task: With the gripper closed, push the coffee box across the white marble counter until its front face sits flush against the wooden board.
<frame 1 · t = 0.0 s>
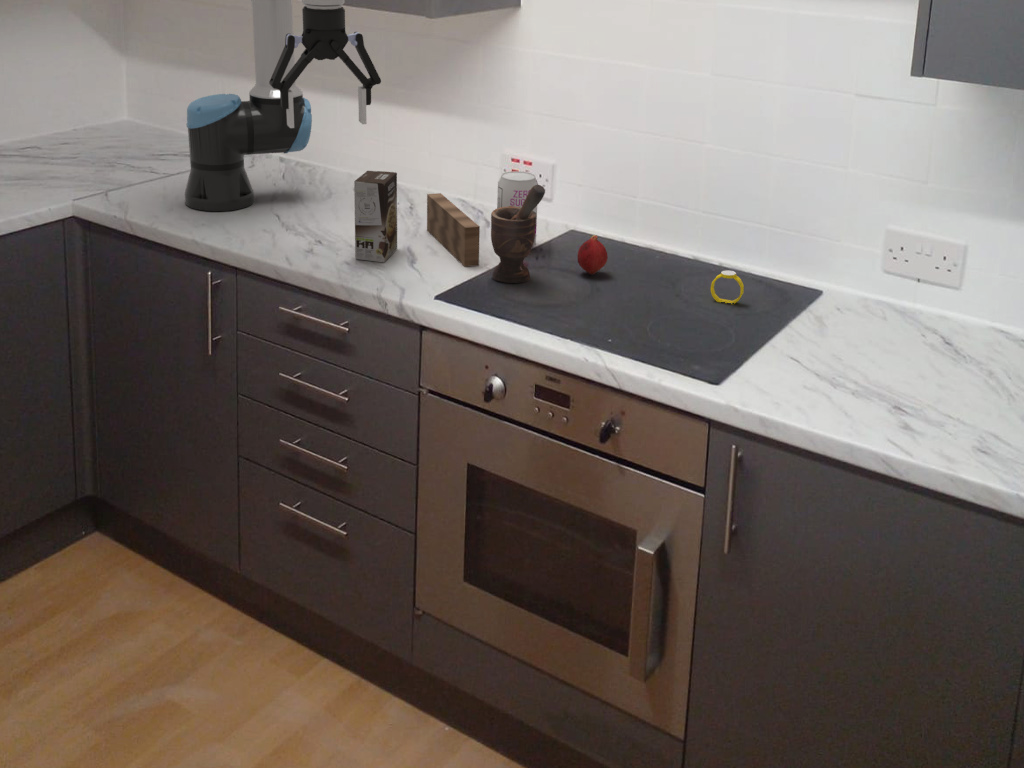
hand: (327, 124, 227), 28 cm above the worktop, tool pointing down, fingers open, 13 cm apart
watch: (725, 303, 229), on the worktop
coffee box: (376, 255, 247), on the worktop
mortar and pestle: (518, 280, 236), on the worktop
wooden board: (451, 247, 252), on the worktop
onion: (591, 275, 240), on the worktop
supplement can: (515, 247, 254), on the worktop
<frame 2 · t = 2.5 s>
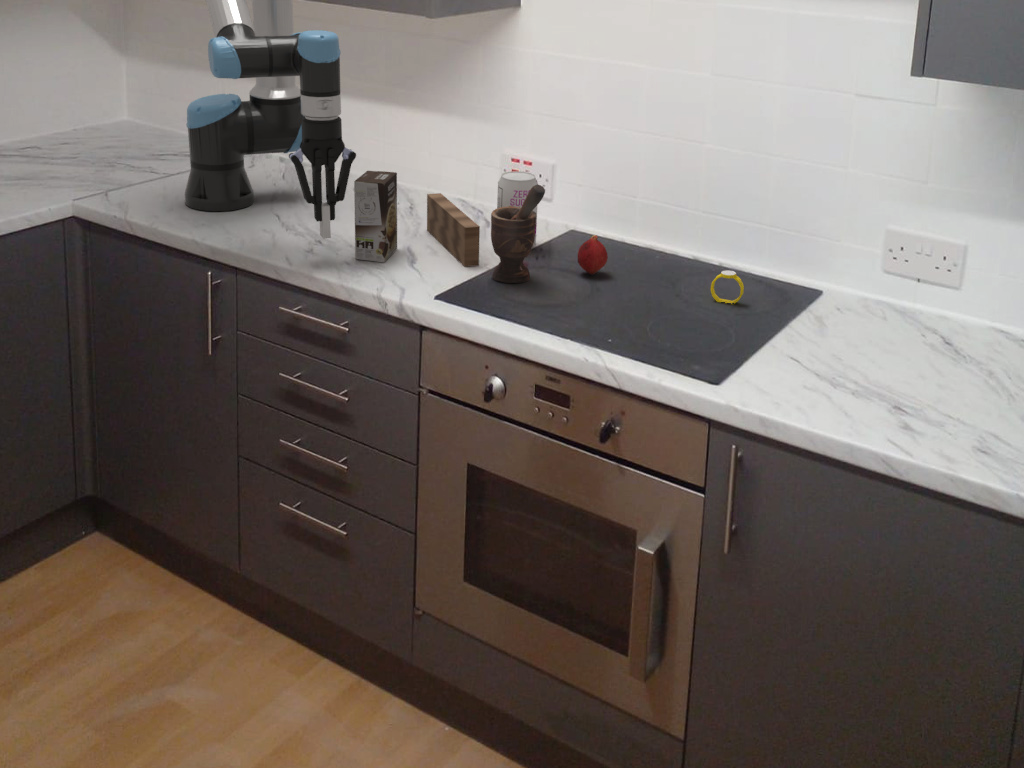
hand: (325, 236, 241), 5 cm above the worktop, tool pointing down, fingers closed
nothing on the worktop moved.
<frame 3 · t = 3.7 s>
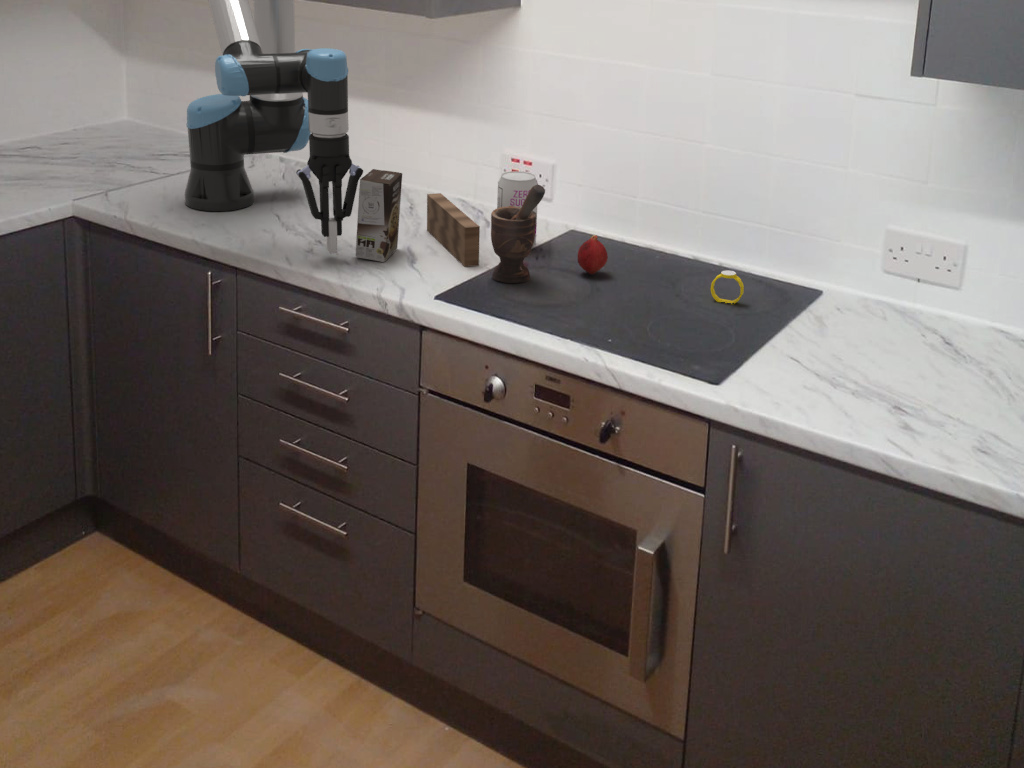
hand: (332, 251, 243), 1 cm above the worktop, tool pointing down, fingers closed
coffee box: (376, 254, 247), on the worktop, touching hand
everything else where it was.
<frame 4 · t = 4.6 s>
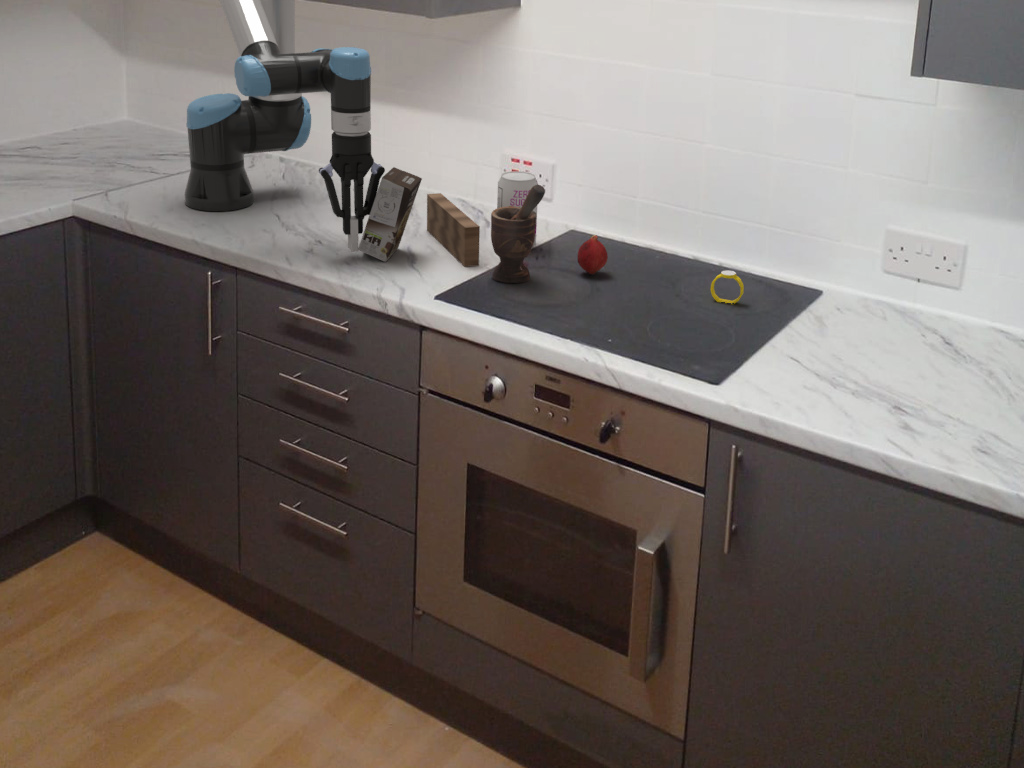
hand: (353, 249, 244), 2 cm above the worktop, tool pointing down, fingers closed
coffee box: (378, 250, 246), point 1 cm above the worktop, touching gripper, hand
everything else where it was.
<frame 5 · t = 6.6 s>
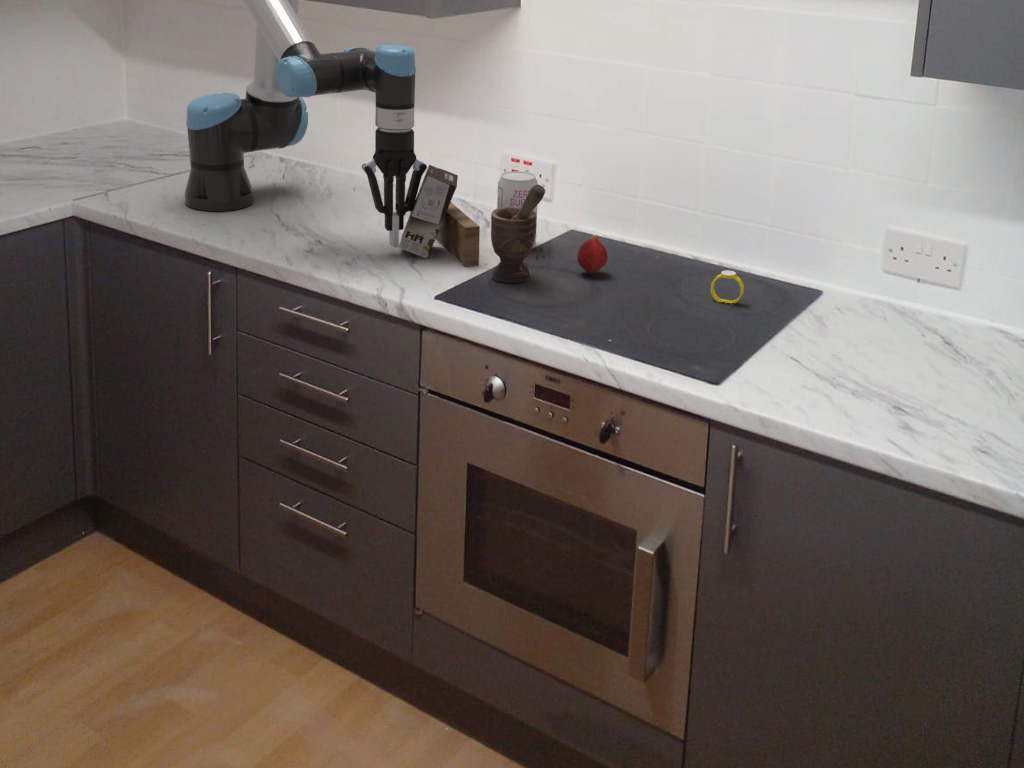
hand: (394, 245, 246), 2 cm above the worktop, tool pointing down, fingers closed
coffee box: (414, 247, 248), point 1 cm above the worktop, touching hand, wooden board
everything else where it was.
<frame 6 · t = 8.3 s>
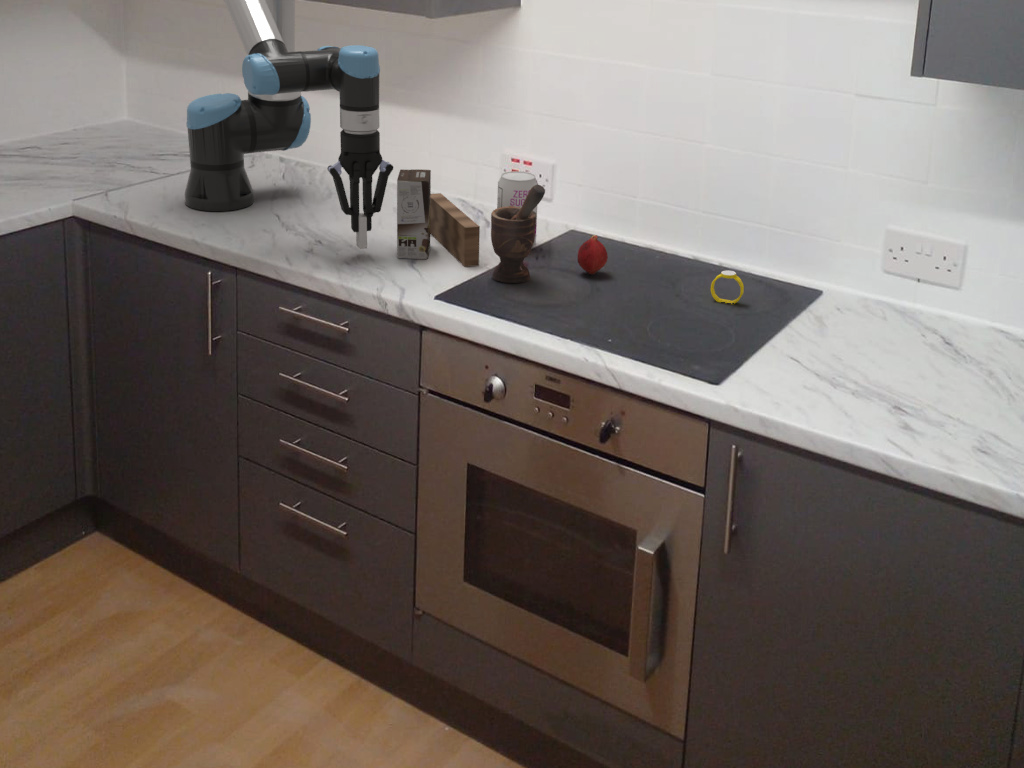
hand: (361, 246, 245), 2 cm above the worktop, tool pointing down, fingers closed
coffee box: (414, 252, 249), on the worktop
everything else where it was.
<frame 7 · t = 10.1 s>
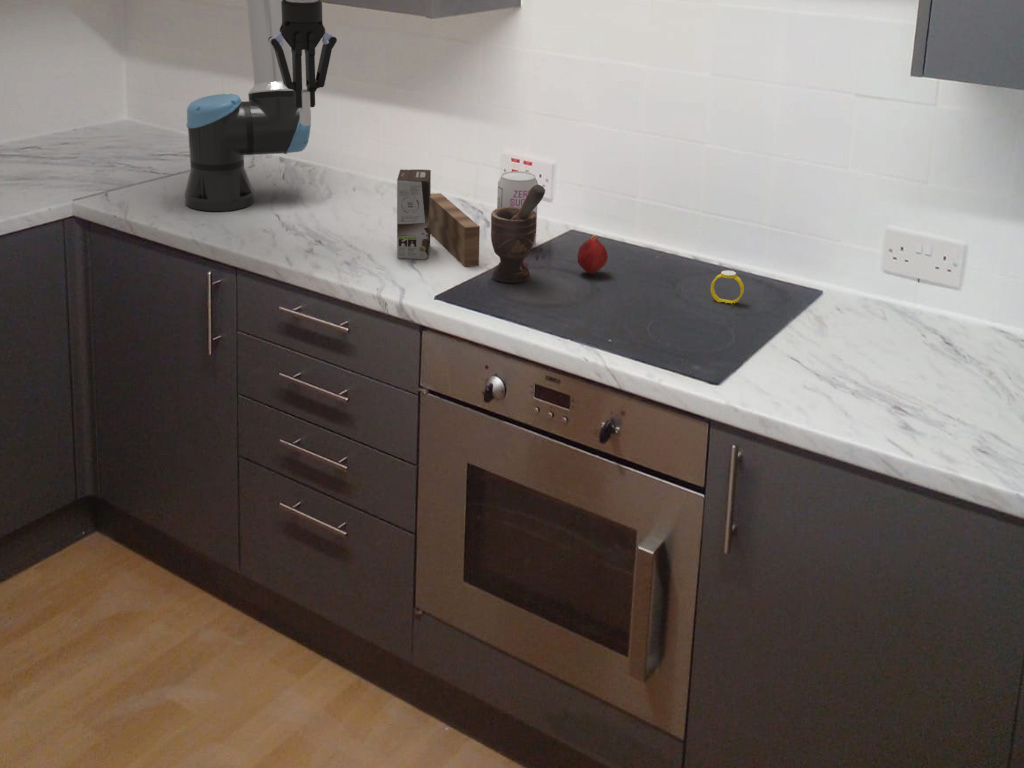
hand: (305, 123, 238), 25 cm above the worktop, tool pointing down, fingers closed
nothing on the worktop moved.
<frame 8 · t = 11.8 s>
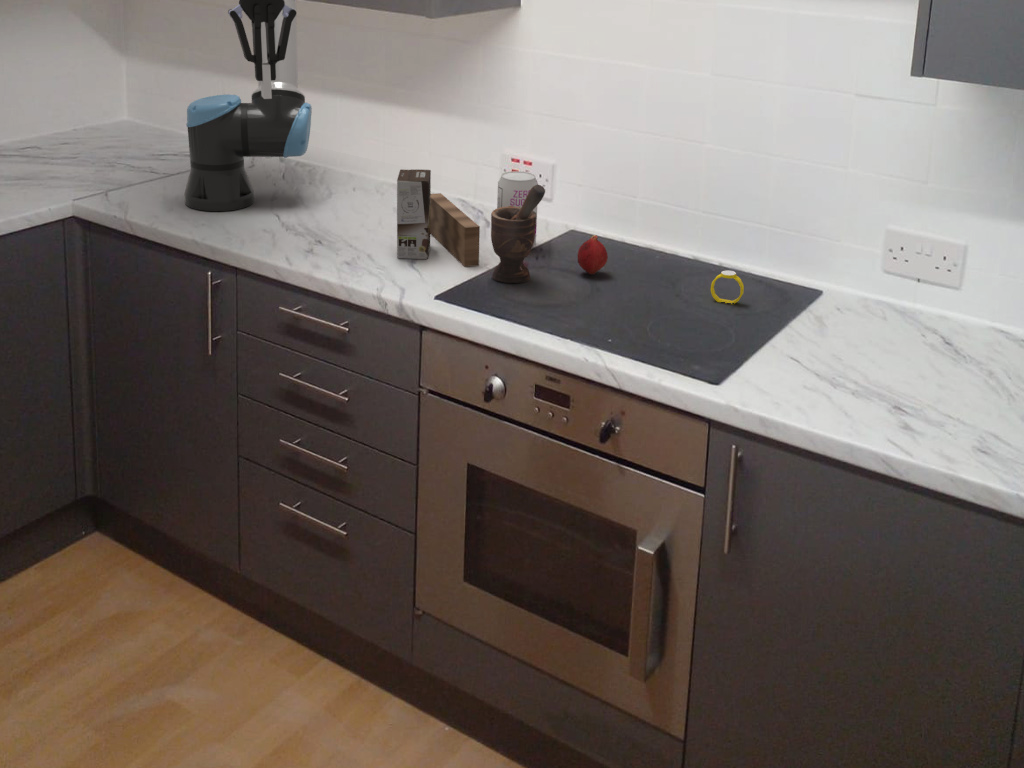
hand: (266, 97, 240), 29 cm above the worktop, tool pointing down, fingers closed
nothing on the worktop moved.
at the end: coffee box inside the target area on the worktop beside the wooden board (1.1 cm from its centre), on the worktop; coffee box tilted 0° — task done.
